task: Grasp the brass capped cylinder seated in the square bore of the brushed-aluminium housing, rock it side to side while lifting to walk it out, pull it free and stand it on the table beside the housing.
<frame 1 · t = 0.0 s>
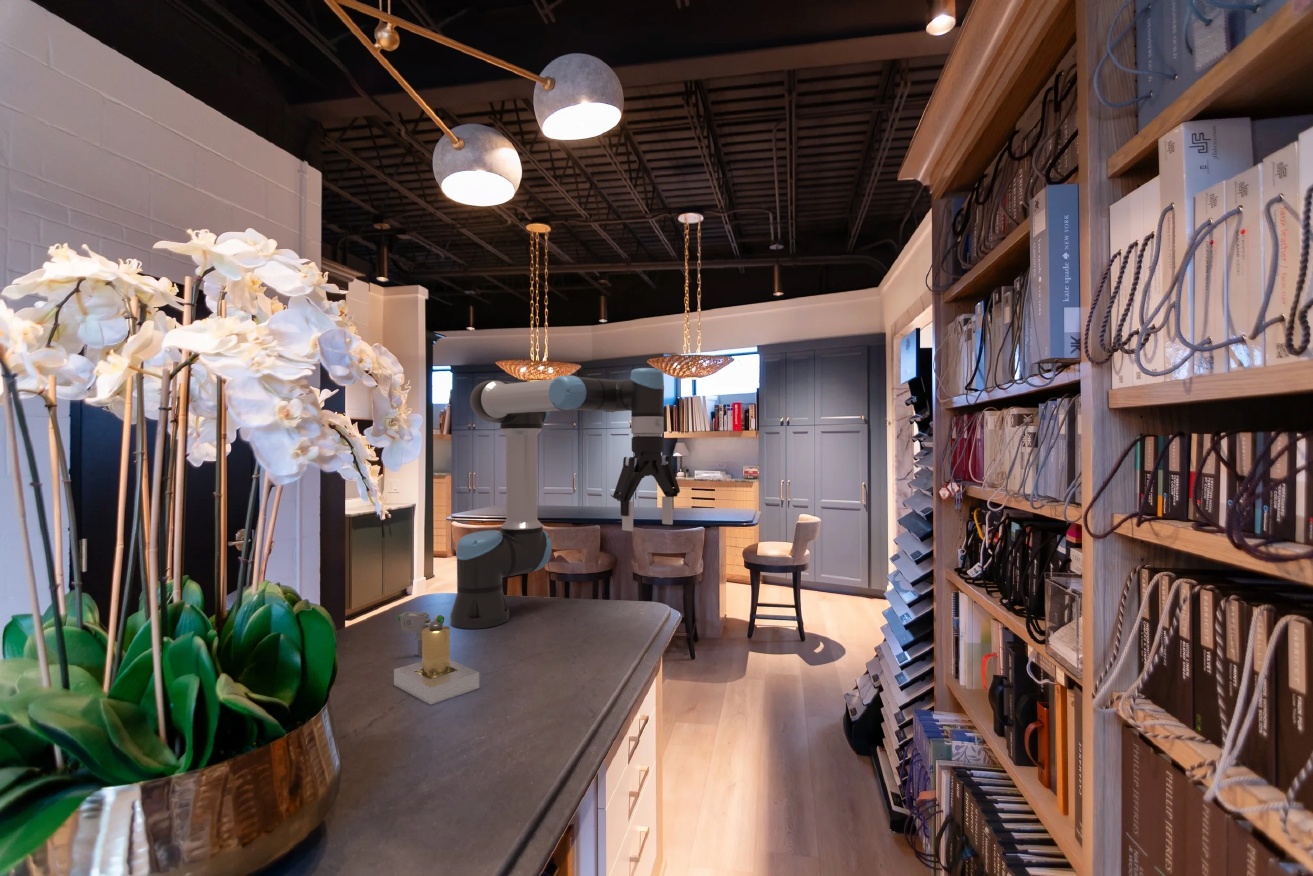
hand: (648, 527, 146), 28 cm above the counter, fingers open, 13 cm apart
brass capped cylinder: (436, 686, 122), point 1 cm above the counter, touching housing
housing: (436, 691, 122), on the counter
mechanical component: (421, 660, 140), on the counter
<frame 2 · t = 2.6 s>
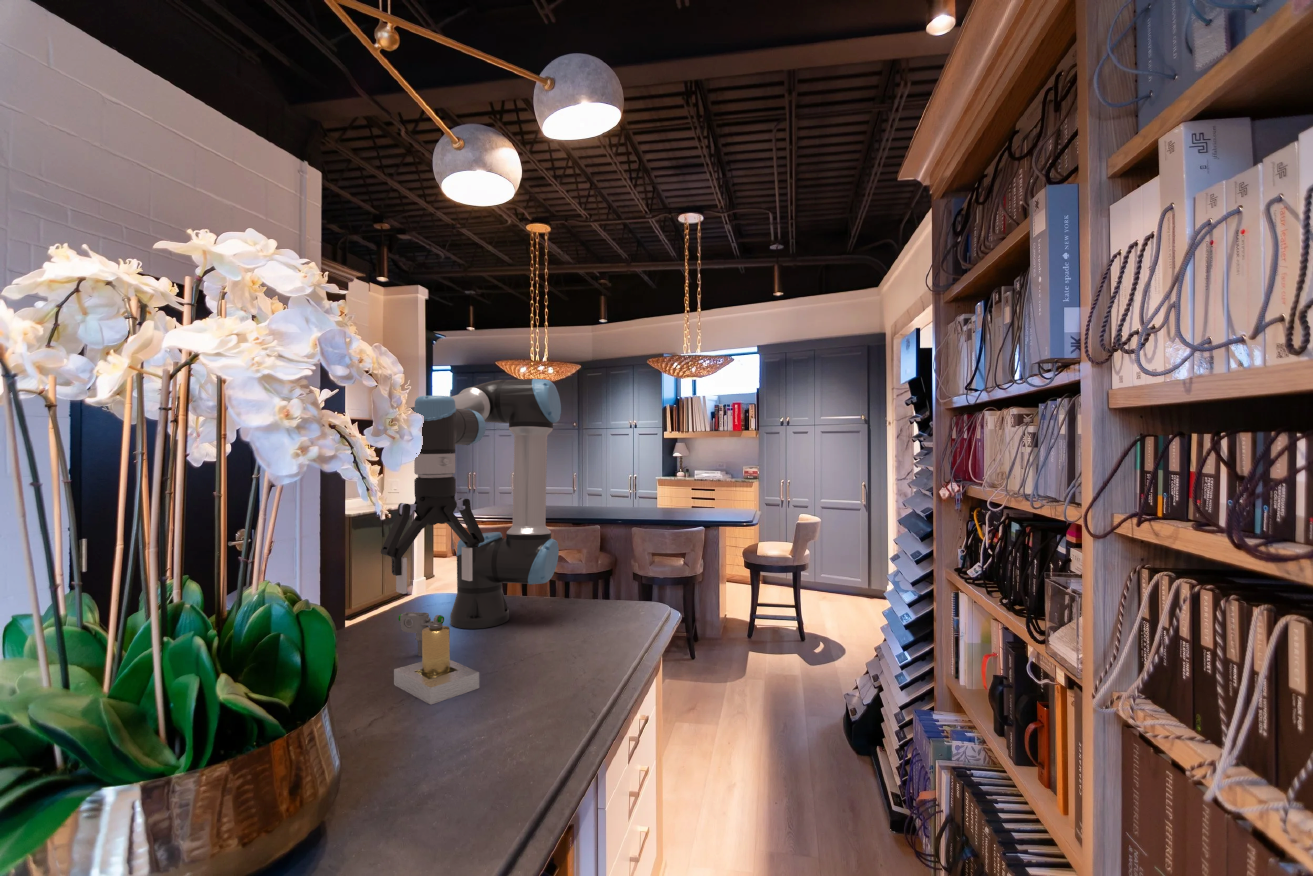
hand: (435, 586, 122), 20 cm above the counter, fingers open, 13 cm apart
nothing on the counter moved.
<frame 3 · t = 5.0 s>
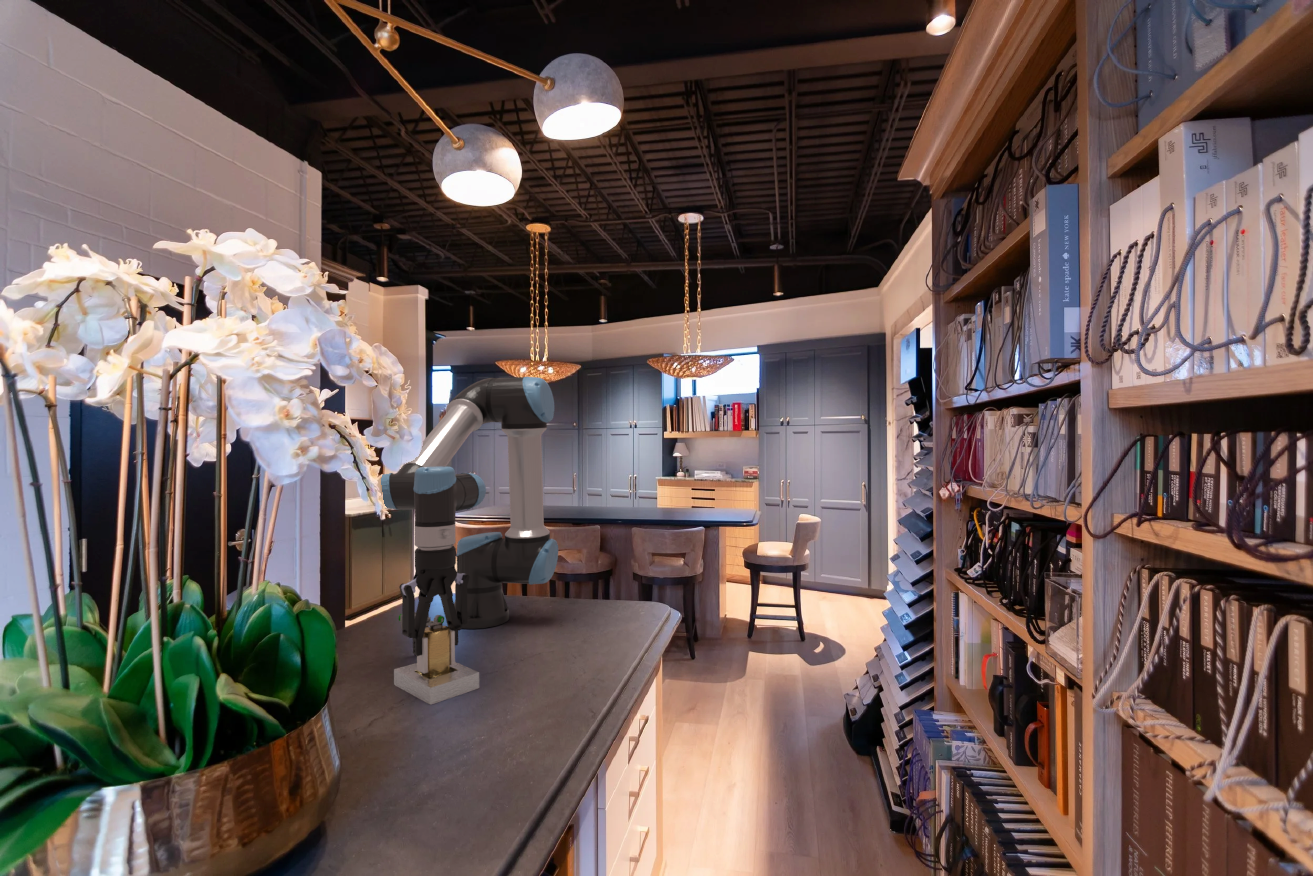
hand: (436, 667, 122), 5 cm above the counter, fingers closed on brass capped cylinder, 5 cm apart
brass capped cylinder: (436, 686, 122), point 1 cm above the counter, touching gripper, housing
everything else where it was.
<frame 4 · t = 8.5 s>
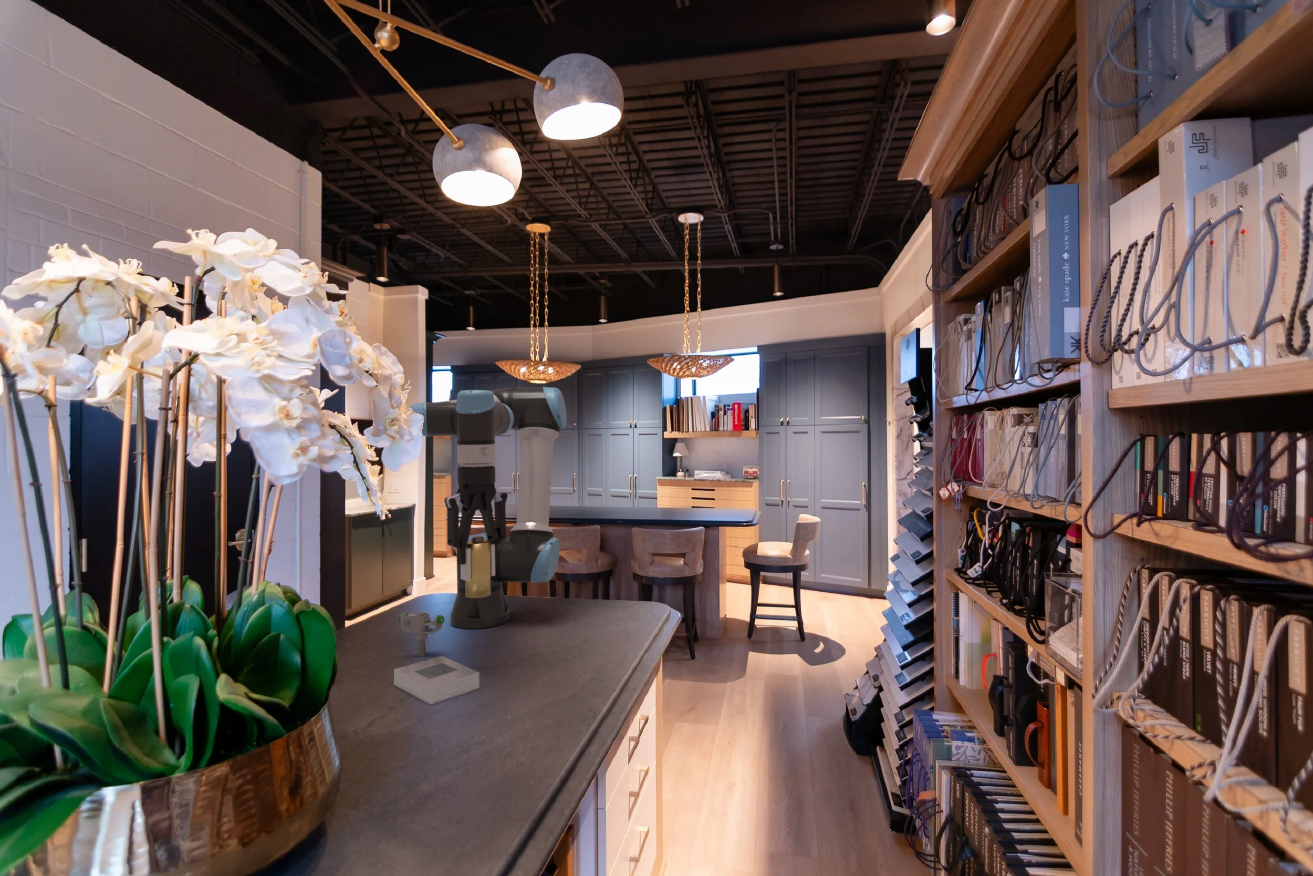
hand: (478, 576, 131), 20 cm above the counter, fingers closed on brass capped cylinder, 5 cm apart
brass capped cylinder: (478, 594, 131), point 16 cm above the counter, touching gripper
everything else where it was.
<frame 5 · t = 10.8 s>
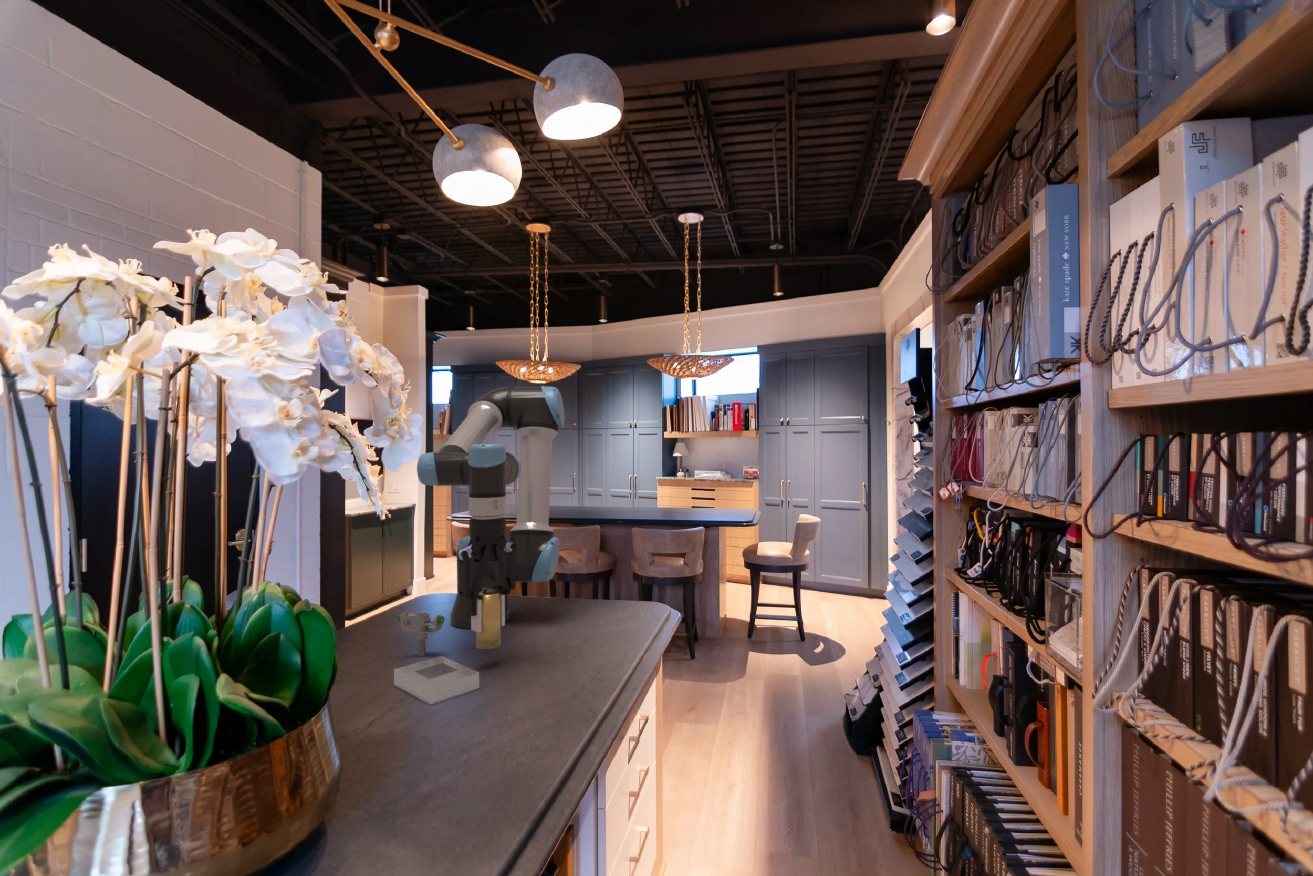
hand: (488, 627, 133), 9 cm above the counter, fingers closed on brass capped cylinder, 5 cm apart
brass capped cylinder: (488, 645, 133), point 5 cm above the counter, touching gripper
everything else where it was.
when the fingers open (5 cm above the counter, at t = 12.3 s): brass capped cylinder drops 1 cm, on the counter.
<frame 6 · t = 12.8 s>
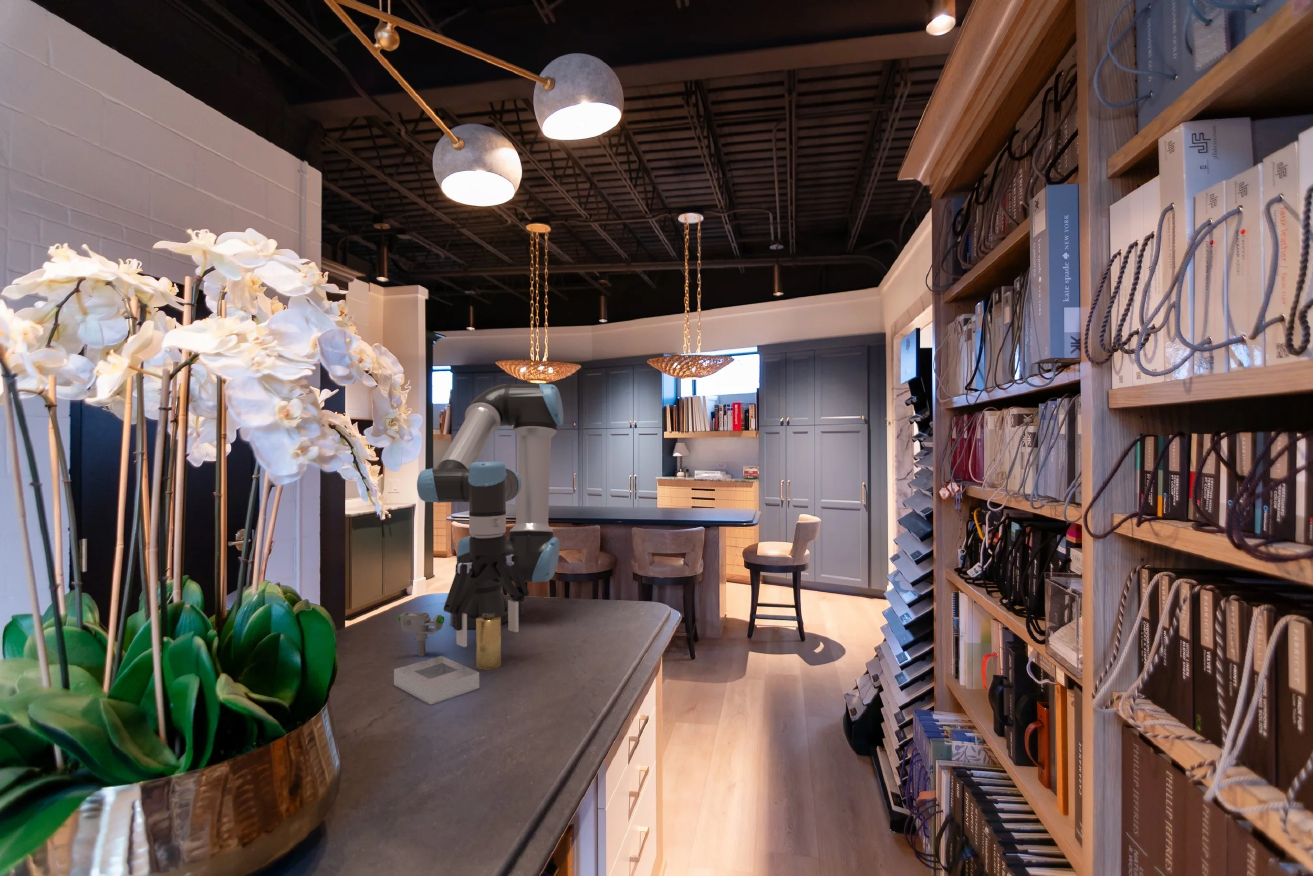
hand: (488, 638, 133), 7 cm above the counter, fingers open, 12 cm apart
brass capped cylinder: (488, 670, 133), on the counter
everything else where it was.
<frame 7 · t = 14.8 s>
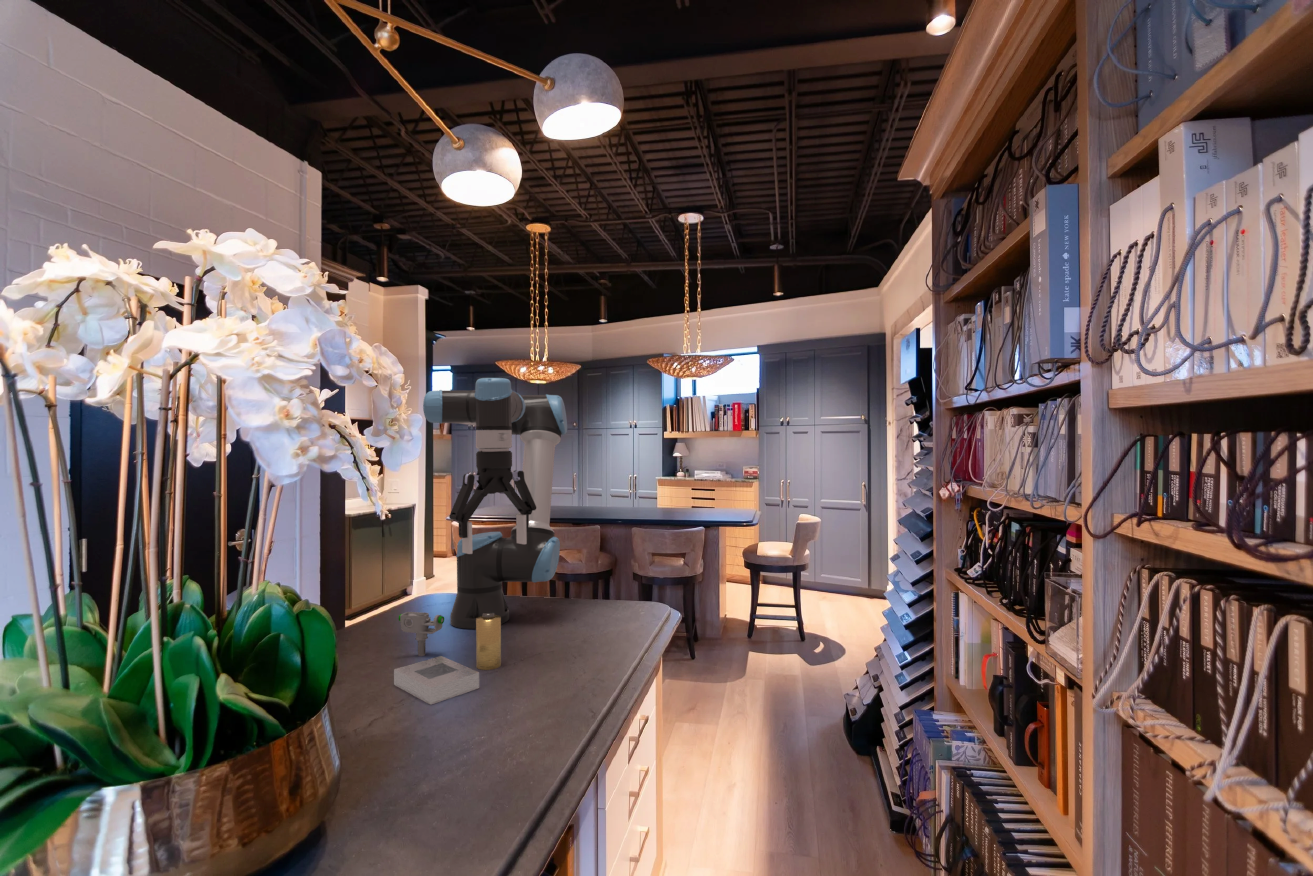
hand: (495, 548, 137), 25 cm above the counter, fingers open, 13 cm apart
nothing on the counter moved.
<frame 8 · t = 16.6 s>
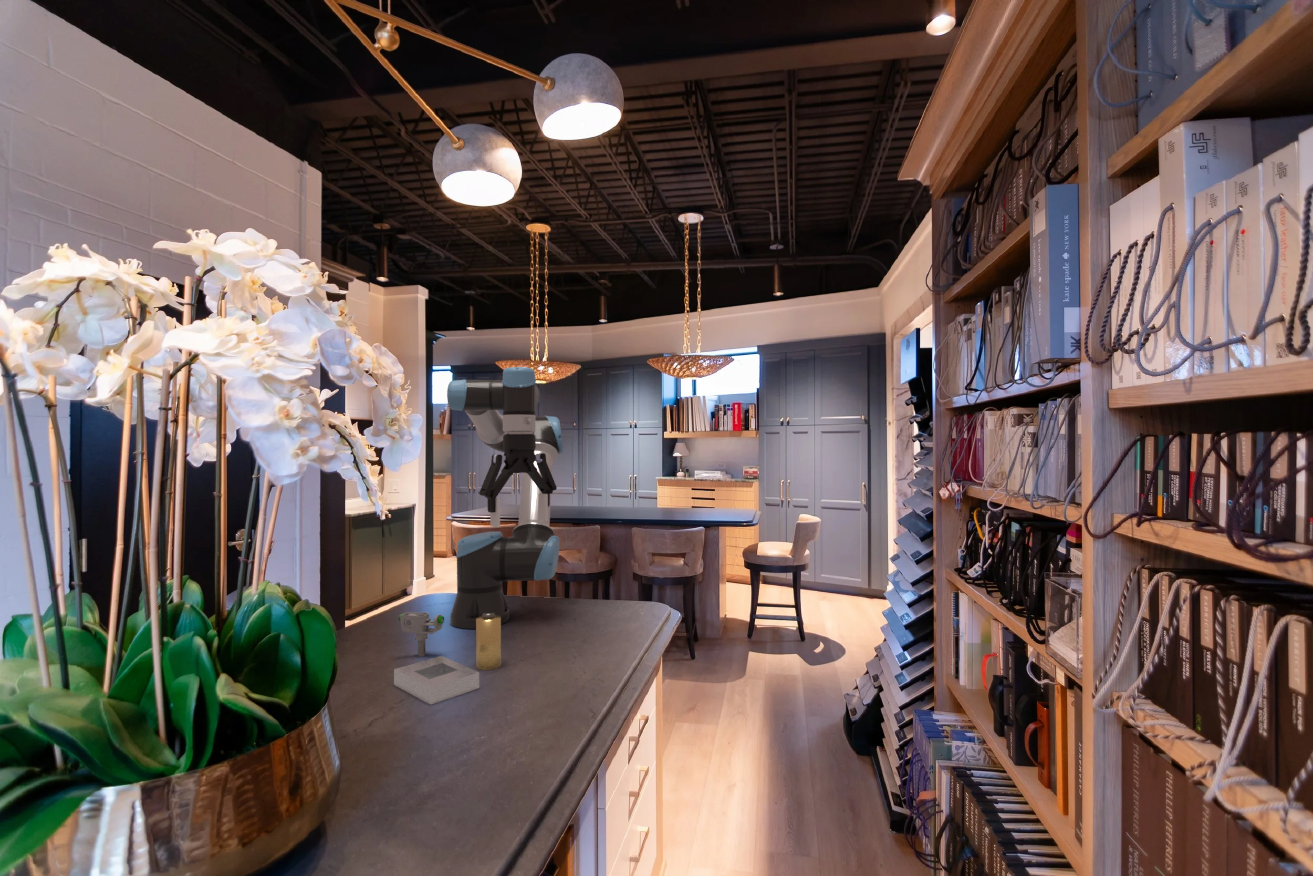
hand: (520, 523, 149), 29 cm above the counter, fingers open, 13 cm apart
nothing on the counter moved.
at the end: brass capped cylinder inside the target area (0.0 cm from its centre), on the counter; brass capped cylinder tilted 0°; the gripper is holding nothing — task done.
